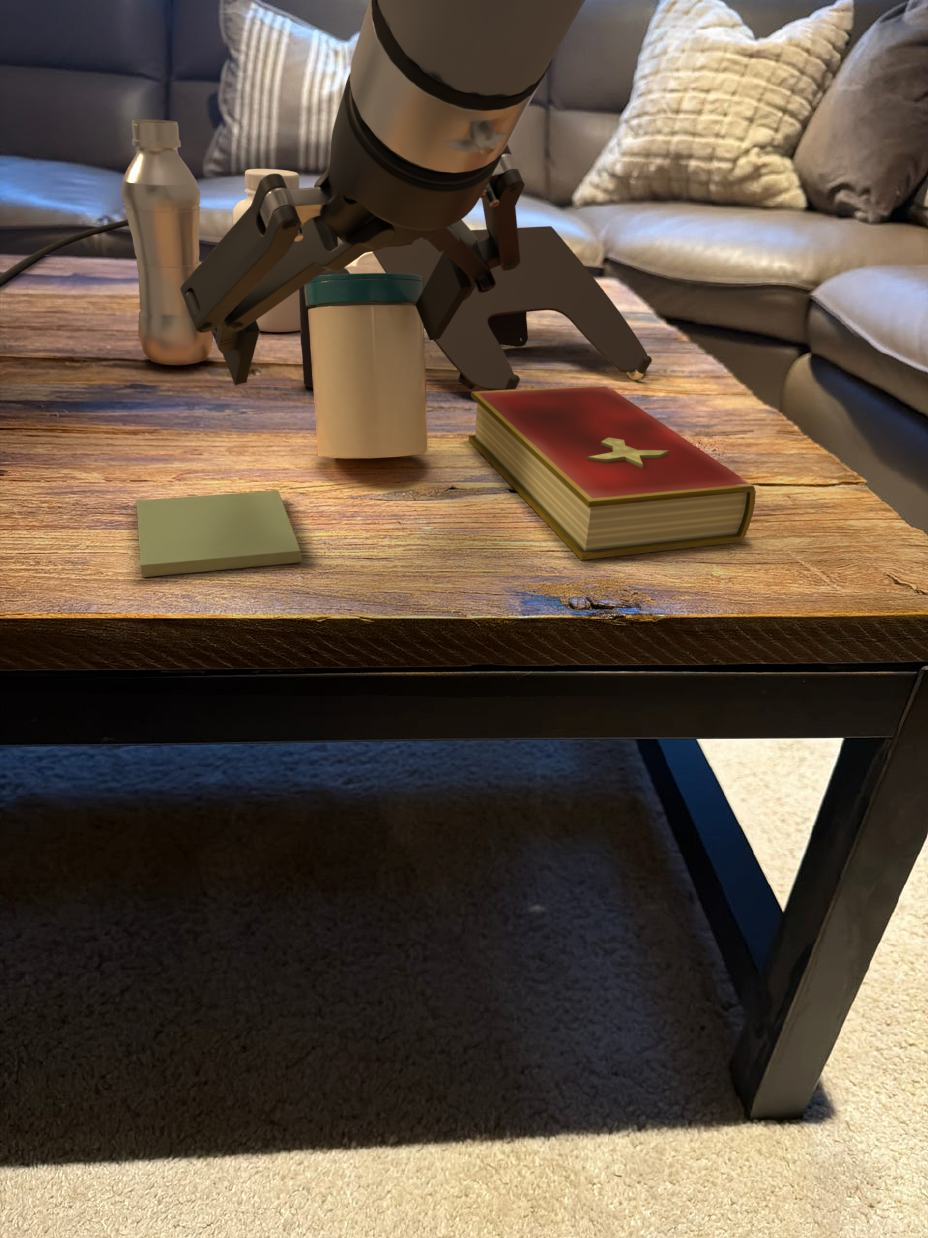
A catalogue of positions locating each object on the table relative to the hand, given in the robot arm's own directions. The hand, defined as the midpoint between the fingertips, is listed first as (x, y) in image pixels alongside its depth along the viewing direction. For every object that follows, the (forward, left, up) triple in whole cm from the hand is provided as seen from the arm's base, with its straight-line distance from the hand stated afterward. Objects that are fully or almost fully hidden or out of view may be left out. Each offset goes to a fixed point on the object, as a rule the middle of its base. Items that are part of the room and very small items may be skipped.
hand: (334, 342), depth 62 cm
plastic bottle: (-30, -9, -10) cm, 33 cm away
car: (-60, +16, -10) cm, 63 cm away
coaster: (+7, -9, -10) cm, 15 cm away
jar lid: (-6, +3, +2) cm, 7 cm away
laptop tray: (-26, +23, -10) cm, 36 cm away
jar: (-2, +3, -9) cm, 10 cm away
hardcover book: (+4, +18, -10) cm, 21 cm away
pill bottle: (-43, +2, -10) cm, 44 cm away
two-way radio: (-22, +4, -10) cm, 24 cm away
